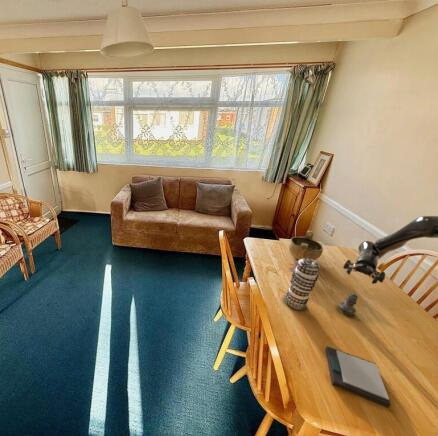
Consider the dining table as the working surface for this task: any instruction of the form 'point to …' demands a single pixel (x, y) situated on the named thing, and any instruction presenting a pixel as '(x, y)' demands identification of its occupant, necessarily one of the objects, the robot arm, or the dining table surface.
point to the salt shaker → (349, 304)
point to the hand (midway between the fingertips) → (361, 277)
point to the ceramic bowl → (305, 247)
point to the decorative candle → (302, 283)
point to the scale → (356, 376)
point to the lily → (294, 266)
